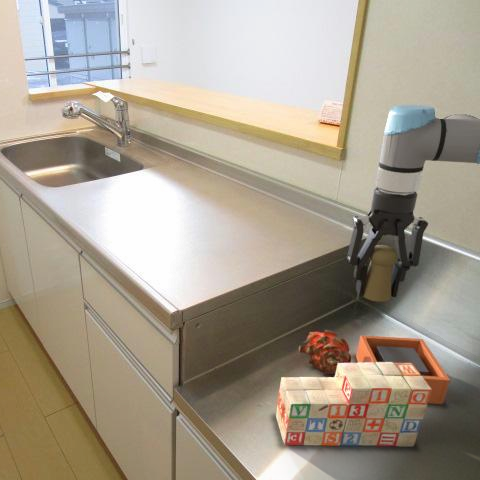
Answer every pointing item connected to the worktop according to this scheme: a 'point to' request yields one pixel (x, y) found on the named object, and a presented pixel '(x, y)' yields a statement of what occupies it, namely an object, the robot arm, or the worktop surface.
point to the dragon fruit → (326, 351)
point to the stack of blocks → (354, 406)
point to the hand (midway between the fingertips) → (375, 292)
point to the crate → (436, 373)
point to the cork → (380, 274)
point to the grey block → (401, 357)
